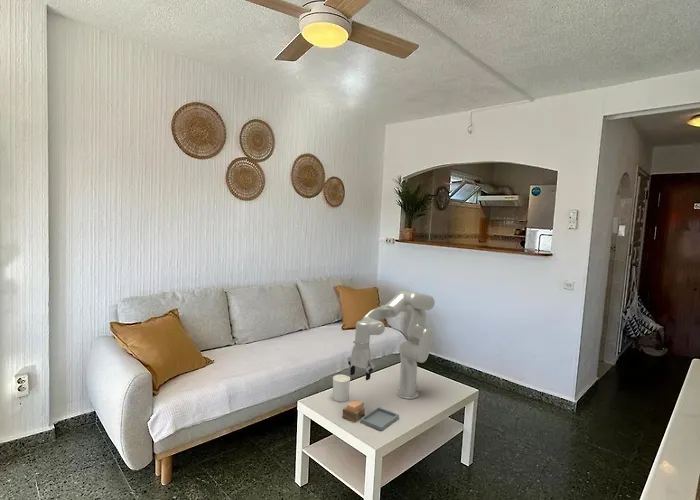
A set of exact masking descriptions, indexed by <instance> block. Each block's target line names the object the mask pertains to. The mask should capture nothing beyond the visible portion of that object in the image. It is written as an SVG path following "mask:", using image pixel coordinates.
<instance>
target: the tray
mask: <svg viewBox="0 0 700 500" xmlns="http://www.w3.org/2000/svg"><path fill="white" fill-rule="evenodd" d="M399 419H400V414H399V413H396V412H394V411H390V410H388V409H385V408H382V407H380V406H378V407H376V408H374V409H372V411H370V412H369V413H367V414H365V416H364V417H362V418H361V419H360V420H359V423H360V424H362V425H365V426H366V427H370V428H371V429H375V430H377V431H379V432H383V431H384V430H385V429H387V428H388V427H389V426H391V425H392V424H393V423H395V422H396V421H397V420H399Z"/></svg>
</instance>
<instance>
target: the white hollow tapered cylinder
mask: <svg viewBox="0 0 700 500" xmlns="http://www.w3.org/2000/svg"><path fill="white" fill-rule="evenodd" d="M350 383H351V377H350V376H349V375H345V374H335V375H334V376H332V395H333V397H332V398H333V400H334V401H335V402H338V403H344V402H347V401H348V400H349V392H350Z"/></svg>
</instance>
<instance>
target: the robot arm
mask: <svg viewBox="0 0 700 500" xmlns="http://www.w3.org/2000/svg"><path fill="white" fill-rule="evenodd" d="M435 303H436V301H435V299H434V297H433V296H431V295H429V294H425V293H420V292H415V291H409V290H401V291H399V292H398V293H397V294H396V295H394V296H393V298H392V299H390V300H389V301H388V302H387V303H386V304H384V305H381V306H379V307H376V308H374V309H372V310H370V311H369V312H367V314H365V316H363V318H362V319H361V320H359V321H358V320H357V322H355V334H354V335H355V337H354V338H355V339H354V340H353V341H352V343H353V344H354V345H353V347H352V349H351V354H350V356H348V357H347V358H346V360H347V364H348V365H349V368H350V370H349V375H350V376H353V375H355V374H356V368H360V369H363V370H365V371H366V372H365V381H369V380H370V379H371V374H372V372H373V371H374V369H375V368H376V364H375V362H373V361H372V353H371V348H370V338H371V336H380V335H382V334H383V333H384V332H385V329H386V327H385V324H384V322H383V321H381V320H382V319H391V318H395V317H397V316H398V315H400V314H401V312H402V311H404V309H406V308H407V307H409V308H411V309H410V310H411V316H410V317H411V318H410V321H409V324H408V328H407V331H406V334H407V337H408V338H409V339H411V340H414V341H416V342H414V341H411V340H404V341H402V342H401V344H400V346H399V355H400V368H399V369H400V370H399V374H400V375H399V388H398V389H397V390H396V395H397V396H398V397H399V398H401V399H404V400H414V399H417V398H418V397H419V392H418V391H417V388H418V387H419V384H418V383H417V378H418V377H417V376H418V375H417V373H418V364H417V363H420V364H421V363H422V364H423V363H425V362H426V361H427V359H428V357H429V355H430V351H431V347H432V345H433V340H434V330H433V329H432V328H431V327H430V326H428V325H425V324H426V320H427V312H426V311H430V310H432V309H433V308H434V307H435Z"/></svg>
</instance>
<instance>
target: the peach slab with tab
mask: <svg viewBox="0 0 700 500" xmlns="http://www.w3.org/2000/svg"><path fill="white" fill-rule="evenodd" d="M346 407H347V410H349V411H351V412H354V413H355V412H357V411H358V410H360V409H362V408H365V401H359V400H356V399H354V400H353V401H350V402H349V403H346Z"/></svg>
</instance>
